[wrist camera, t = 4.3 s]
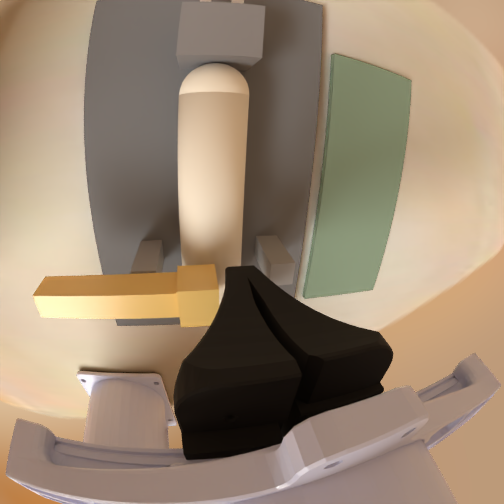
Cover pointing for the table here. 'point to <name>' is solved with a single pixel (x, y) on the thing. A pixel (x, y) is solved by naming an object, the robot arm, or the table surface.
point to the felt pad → (358, 176)
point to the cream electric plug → (214, 128)
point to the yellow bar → (133, 296)
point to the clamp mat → (166, 138)
